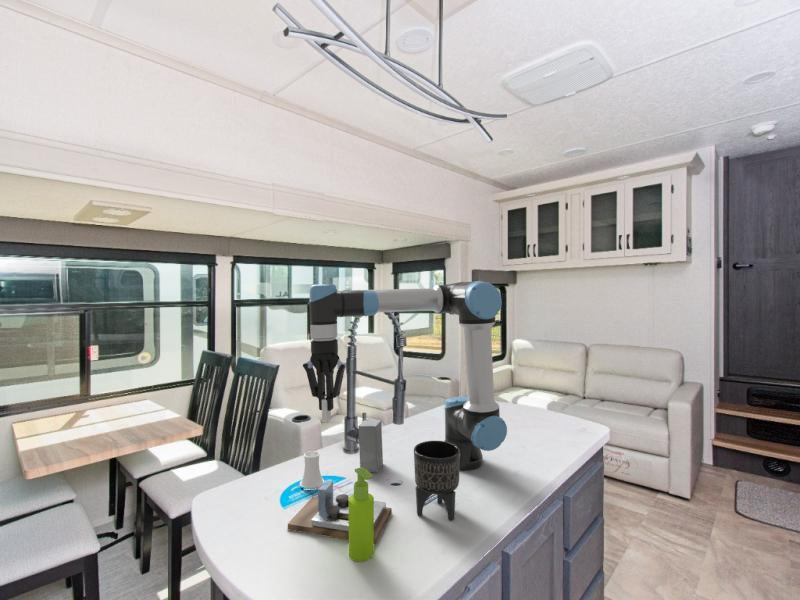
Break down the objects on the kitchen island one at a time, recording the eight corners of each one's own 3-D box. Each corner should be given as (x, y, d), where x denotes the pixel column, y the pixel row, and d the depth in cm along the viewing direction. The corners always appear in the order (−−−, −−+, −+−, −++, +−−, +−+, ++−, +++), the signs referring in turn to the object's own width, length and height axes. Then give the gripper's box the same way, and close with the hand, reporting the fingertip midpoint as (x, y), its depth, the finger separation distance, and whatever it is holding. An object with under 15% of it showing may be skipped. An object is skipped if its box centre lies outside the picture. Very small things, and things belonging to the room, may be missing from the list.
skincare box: (377, 473, 135) (377, 427, 135) (357, 471, 137) (357, 425, 136) (383, 462, 143) (383, 419, 143) (364, 461, 145) (364, 417, 144)
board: (391, 513, 111) (391, 496, 111) (375, 544, 98) (375, 525, 97) (312, 501, 117) (312, 485, 117) (287, 529, 104) (287, 511, 104)
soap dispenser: (359, 567, 89) (358, 479, 89) (344, 551, 95) (343, 468, 94) (381, 557, 93) (380, 472, 92) (365, 542, 98) (365, 461, 98)
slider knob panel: (385, 507, 111) (385, 480, 111) (370, 535, 98) (370, 505, 98) (332, 499, 115) (332, 474, 115) (311, 525, 102) (311, 496, 102)
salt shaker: (315, 492, 122) (315, 460, 122) (294, 488, 125) (294, 456, 125) (328, 481, 129) (328, 451, 129) (308, 477, 132) (308, 447, 132)
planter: (469, 512, 112) (469, 449, 111) (439, 531, 103) (439, 463, 102) (434, 495, 121) (434, 436, 121) (404, 511, 112) (404, 448, 112)
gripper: (350, 337, 115) (352, 418, 116) (309, 336, 119) (311, 415, 119) (340, 341, 108) (342, 427, 109) (296, 340, 111) (299, 424, 112)
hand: (326, 421), depth 114 cm, fingers closed
